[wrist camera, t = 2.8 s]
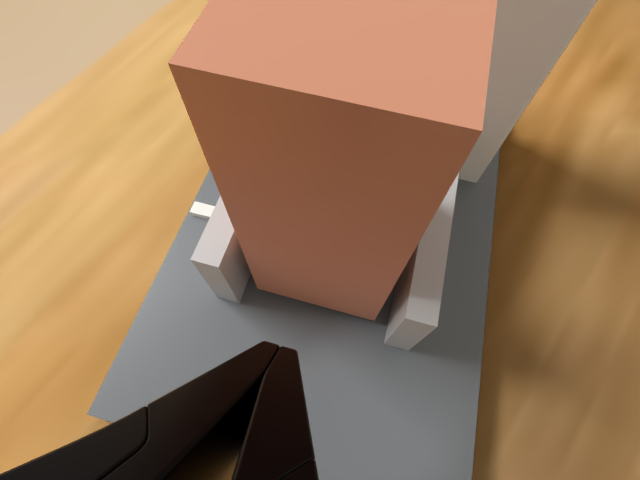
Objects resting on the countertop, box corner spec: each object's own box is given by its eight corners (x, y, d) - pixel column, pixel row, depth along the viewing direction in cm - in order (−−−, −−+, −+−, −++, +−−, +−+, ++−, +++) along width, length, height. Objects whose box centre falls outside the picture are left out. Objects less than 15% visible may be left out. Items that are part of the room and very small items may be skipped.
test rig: (456, 531, 14) (1324, 1149, 2) (100, 415, 15) (-630, 367, 3) (495, 121, 22) (697, -219, 11) (267, 72, 24) (222, -273, 12)
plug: (374, 320, 15) (482, 130, 6) (257, 288, 16) (168, 63, 6) (392, 236, 17) (499, -23, 7) (286, 209, 18) (253, -66, 8)
